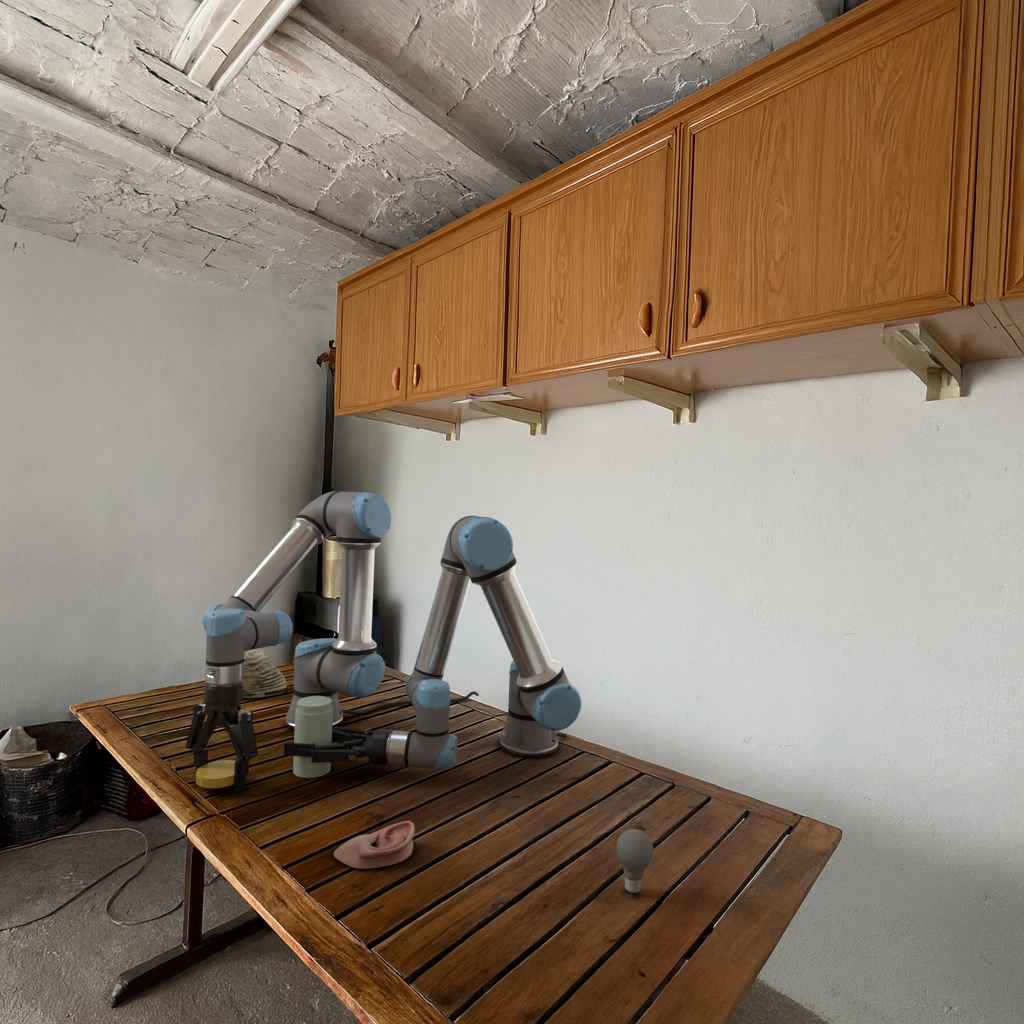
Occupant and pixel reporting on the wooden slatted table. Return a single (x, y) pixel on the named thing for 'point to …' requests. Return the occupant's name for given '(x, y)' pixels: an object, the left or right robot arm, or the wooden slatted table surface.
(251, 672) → the fossil
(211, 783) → the lid
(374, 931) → the wooden slatted table surface
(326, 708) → the jar
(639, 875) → the light bulb
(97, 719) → the wooden slatted table surface
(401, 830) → the anatomical model
